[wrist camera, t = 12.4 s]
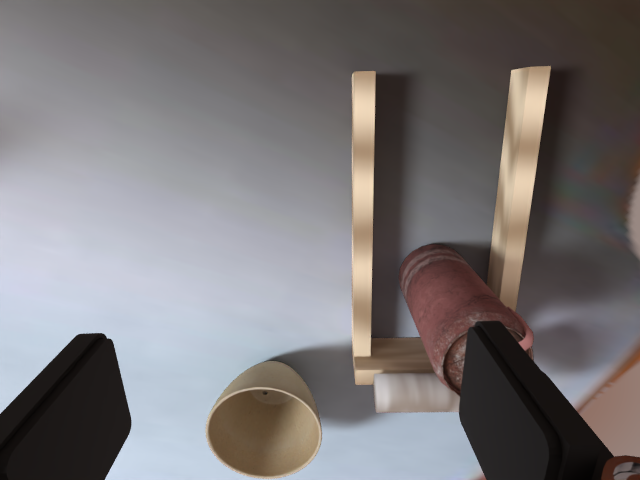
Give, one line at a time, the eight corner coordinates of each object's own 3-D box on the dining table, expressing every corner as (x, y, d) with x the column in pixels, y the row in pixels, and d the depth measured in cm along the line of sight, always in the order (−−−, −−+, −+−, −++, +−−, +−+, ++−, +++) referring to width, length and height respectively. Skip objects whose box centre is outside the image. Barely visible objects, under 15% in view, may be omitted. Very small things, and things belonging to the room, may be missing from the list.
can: (480, 269, 37) (565, 361, 24) (428, 314, 39) (482, 424, 26) (435, 226, 36) (498, 298, 23) (384, 274, 38) (415, 368, 24)
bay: (352, 74, 32) (363, 62, 23) (555, 68, 32) (652, 54, 22) (351, 370, 41) (359, 451, 31) (510, 368, 41) (567, 449, 31)
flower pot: (210, 399, 42) (188, 455, 36) (247, 324, 39) (231, 369, 33) (297, 433, 44) (291, 494, 37) (339, 363, 41) (342, 415, 34)
